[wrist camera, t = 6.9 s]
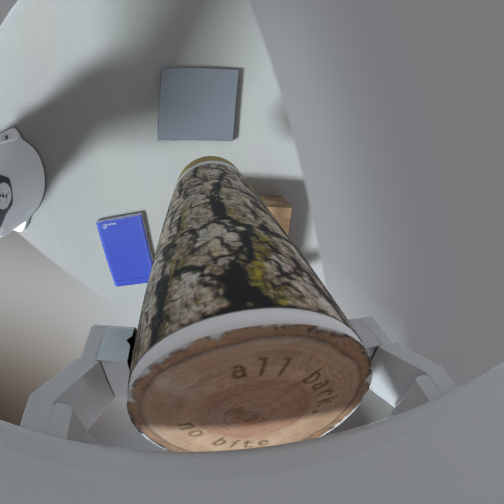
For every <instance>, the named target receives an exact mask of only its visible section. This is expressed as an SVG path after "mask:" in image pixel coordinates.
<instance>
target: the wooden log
mask: <svg viewBox="0 0 504 504" xmlns="http://www.w3.org/2000/svg"><path fill="white" fill-rule="evenodd" d="M372 375H373V366H372V360H371V358H370V355H369V353H368V352H367V350H366V349H365V347H364V345H363V343H362V341H361V339H360V337H359V336H358V334H357V333H356V331H355V330H354V328H353V327H352V325H351V324H350V322H349V321H348V320H347V318H346V317H345V315H344V314H343V312H342V311H341V309H340V308H339V306H338V305H337V304H336V302H335V301H334V299H333V298H332V296H331V295H330V293H329V292H328V291H327V289H326V288H325V286H324V285H323V283H322V282H321V281H320V279H319V278H318V276H317V275H316V273H315V272H314V271H313V269H312V268H311V266H310V265H309V264H308V262H307V261H306V259H305V258H304V257H303V255H302V254H301V253H300V251H299V250H298V248H297V247H296V246H295V244H294V243H293V242H292V240H291V239H290V237H289V236H288V235H287V233H286V232H285V231H284V229H283V228H282V227H281V225H280V224H279V223H278V221H277V220H276V219H275V217H274V216H273V215H272V213H271V212H270V211H269V209H268V208H267V207H266V205H265V204H264V203H263V201H262V200H261V199H260V197H259V196H258V195H257V193H256V192H255V191H254V189H253V188H252V187H251V186H250V184H249V183H248V182H247V180H246V179H245V178H244V176H243V175H242V174H241V173H240V172H239V170H238V169H237V168H236V167H235V166H234V165H233V164H232V163H231V162H229V161H228V160H226V159H223V158H220V157H215V156H207V157H202V158H199V159H196V160H194V161H193V162H191V163H190V164H188V165H187V166H186V167H185V168H184V170H183V171H182V173H181V174H180V176H179V179H178V182H177V184H176V188H175V190H174V193H173V196H172V199H171V202H170V205H169V208H168V212H167V215H166V218H165V222H164V225H163V228H162V232H161V235H160V239H159V242H158V246H157V249H156V253H155V257H154V261H153V264H152V268H151V272H150V276H149V280H148V284H147V288H146V293H145V297H144V302H143V306H142V310H141V315H140V320H139V325H138V329H137V334H136V339H135V345H134V350H133V356H132V362H131V367H130V374H129V380H128V397H127V410H128V414H129V417H130V419H131V421H132V423H133V424H134V426H135V427H136V428H137V430H138V431H139V432H140V433H141V434H142V435H143V436H144V437H145V438H147V439H148V440H150V441H151V442H152V443H154V444H156V445H157V446H159V447H161V448H163V449H165V450H168V451H170V452H202V451H224V450H238V449H248V448H257V447H265V446H273V445H279V444H286V443H291V442H297V441H302V440H307V439H312V438H317V437H322V436H323V435H325V434H326V433H328V432H330V431H331V430H332V429H334V428H335V427H336V426H338V425H339V424H340V423H342V422H343V421H344V420H345V419H346V418H347V417H348V416H350V415H351V413H352V412H353V411H354V410H355V409H356V408H357V407H358V406H359V404H360V403H361V402H362V400H363V398H364V397H365V395H366V393H367V391H368V389H369V387H370V384H371V381H372Z"/></svg>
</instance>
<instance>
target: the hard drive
mask: <svg viewBox="0 0 504 504" xmlns="http://www.w3.org/2000/svg"><path fill="white" fill-rule="evenodd" d="M96 224H97V228H98V231H99V235H100V239H101V242H102V246H103V249H104V252H105V255H106V259H107V262H108V265H109V268H110V271H111V274H112V277H113V280H114V283H115V286H125V285H133V284H141V283H148V280H149V276H150V272H151V268H152V264H153V258H152V254H151V250H150V246H149V241H148V237H147V233H146V228H145V224H144V219H143V214H142V213H137V214H131V215H125V216H119V217H114V218H108V219H103V220H98V221H97V222H96Z"/></svg>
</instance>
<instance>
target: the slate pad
mask: <svg viewBox="0 0 504 504" xmlns="http://www.w3.org/2000/svg"><path fill="white" fill-rule="evenodd" d="M238 71H239V70H231V69H212V68H164V69H162V75H161V87H160V101H159V119H158V140H212V141H233V131H234V118H235V106H236V94H237V83H238Z"/></svg>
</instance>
